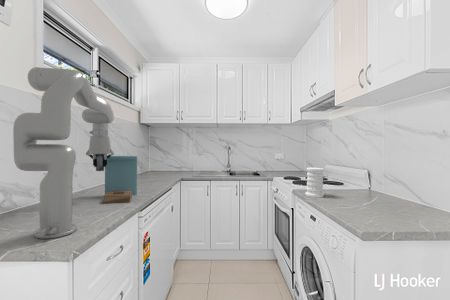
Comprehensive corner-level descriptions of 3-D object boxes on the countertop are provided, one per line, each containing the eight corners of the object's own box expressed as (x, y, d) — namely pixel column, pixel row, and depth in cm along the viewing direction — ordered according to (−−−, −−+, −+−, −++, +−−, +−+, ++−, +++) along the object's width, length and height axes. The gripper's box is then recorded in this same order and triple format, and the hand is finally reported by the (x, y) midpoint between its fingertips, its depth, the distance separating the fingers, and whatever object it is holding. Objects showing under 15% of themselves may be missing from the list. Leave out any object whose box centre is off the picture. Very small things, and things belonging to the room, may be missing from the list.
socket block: (129, 202, 128) (129, 195, 128) (103, 203, 125) (103, 196, 124) (131, 197, 141) (131, 190, 141) (107, 198, 137) (107, 191, 137)
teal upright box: (136, 196, 142) (136, 156, 141) (103, 198, 136) (103, 156, 136) (136, 194, 149) (137, 155, 148) (105, 195, 143) (105, 155, 143)
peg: (103, 170, 128) (103, 152, 128) (95, 171, 127) (95, 152, 127) (104, 170, 132) (104, 152, 132) (96, 170, 131) (96, 152, 130)
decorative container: (315, 198, 148) (316, 169, 148) (301, 194, 158) (302, 167, 158) (327, 196, 154) (328, 169, 153) (313, 192, 164) (314, 167, 163)
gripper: (81, 132, 123) (81, 167, 123) (116, 133, 128) (115, 167, 129) (84, 133, 130) (84, 166, 130) (117, 134, 135) (117, 166, 136)
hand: (100, 166), depth 129 cm, fingers closed on peg, 4 cm apart
